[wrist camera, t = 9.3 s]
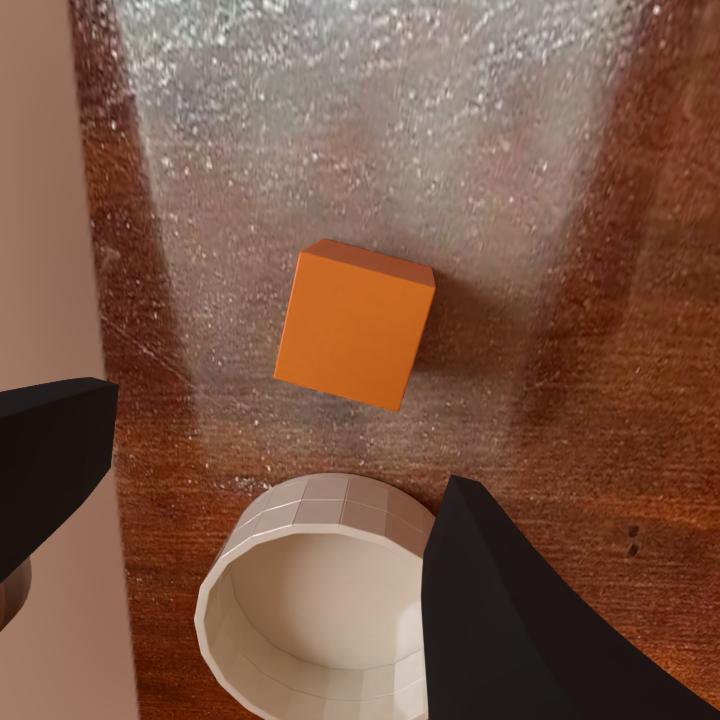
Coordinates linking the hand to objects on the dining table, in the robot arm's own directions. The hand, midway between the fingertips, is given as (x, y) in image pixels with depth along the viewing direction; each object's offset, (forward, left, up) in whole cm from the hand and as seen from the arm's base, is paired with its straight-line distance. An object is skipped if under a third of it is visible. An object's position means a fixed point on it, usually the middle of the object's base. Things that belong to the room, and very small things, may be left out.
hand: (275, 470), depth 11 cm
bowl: (+3, -10, -9) cm, 14 cm away
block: (+1, +2, -9) cm, 9 cm away
